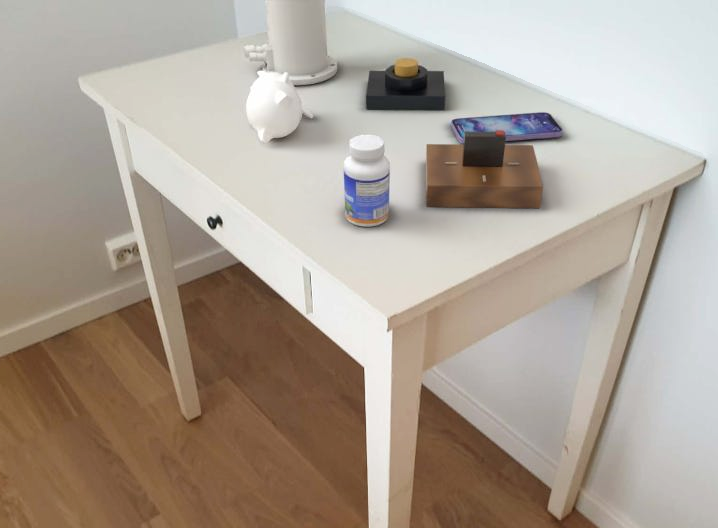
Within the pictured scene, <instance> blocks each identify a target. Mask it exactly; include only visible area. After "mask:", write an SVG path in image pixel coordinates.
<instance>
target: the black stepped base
mask: <svg viewBox="0 0 718 528" xmlns="http://www.w3.org/2000/svg"><path fill="white" fill-rule="evenodd" d="M445 84H446V83H445V71H444V70H428V69H427V68H426V67H424V66H423V65H420V64H418V74H417V75H415V76H410V77H402V76H397V75H395V64H392V65H390V66H388V67H387V68H385V70H369V71H368V80H367V87H366V93H365V103H366V104H365V110H366V111H368V110H369V111H371V110H373V111H375V110H377V111H378V110H379V111H381V110H383V111H387V110H389V111H393V110H394V111H399V110H400V111H445V109H446V85H445Z"/></svg>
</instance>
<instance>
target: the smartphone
mask: <svg viewBox="0 0 718 528" xmlns="http://www.w3.org/2000/svg"><path fill="white" fill-rule="evenodd" d="M450 122H451V123H450V127H451V130H452V131H453V133H454V135H455V136H456V138H457V140H458V141H459V143H460V144H464V132H465V131H468V132H496V130H504V132H505V134H506V142H510V141H523V140H534V139H550V138H560V137H562V136H563V132H564V129H563V127H562V126H561V125H560V124H559V123H558V121H557V120H556V119H555V118H554V116H553V115H552V114H551V113H549V112H546V111H539V112H527V113H526V112H525V113H511V114H510V113H509V114H500V115H499V114H498V115H484V116H473V117H472V116H471V117H457V118H453V119H452V120H451V121H450Z"/></svg>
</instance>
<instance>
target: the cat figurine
mask: <svg viewBox="0 0 718 528" xmlns="http://www.w3.org/2000/svg"><path fill="white" fill-rule="evenodd" d="M257 75H258V78H256V79H255V81H254V82H253V84H252V85H251V86H250V87H249V89H250V93H249V94H248V97H247V100H246V104H245V111H246V116H247V120H248V122H249V124H250V125H251V127H252V128H253V129H254V130H255V131H256V133H257V134H258V139H259V140H260V141H261V143H264V144H267V143H268V142H270V141H271V140H272V139H280V138H284V137H286V136H289V135H290V134H291V133H293V132H294V131H295V130H296V129H297V128H298V126H299V125H300V122H301V120H302V117H303V115H304V116H306V117H307V118H309V119H311V120H313V118H314V115H313V114H312V112H311V111H310V110H308V109H307V108H306V107H304V106H303V103H302V99H301V97H300V95H299V94H298V92H297V91H296V87H295V85H293V83H292V82H291V81H290V79H289V73H288V72H285V73H284V74H280V73H276V72H270V73H266V72H265V71H263V69H262V70H258V71H257Z"/></svg>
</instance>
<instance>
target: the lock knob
mask: <svg viewBox="0 0 718 528" xmlns="http://www.w3.org/2000/svg"><path fill="white" fill-rule="evenodd" d="M506 142H507V141H506V134H505V132H504V130H496V132H468V131H465V132H464V143H463V144H462V145H463V158H462V164H463V166H497V167H502V166H503V159H504V151H505V145H506Z"/></svg>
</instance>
